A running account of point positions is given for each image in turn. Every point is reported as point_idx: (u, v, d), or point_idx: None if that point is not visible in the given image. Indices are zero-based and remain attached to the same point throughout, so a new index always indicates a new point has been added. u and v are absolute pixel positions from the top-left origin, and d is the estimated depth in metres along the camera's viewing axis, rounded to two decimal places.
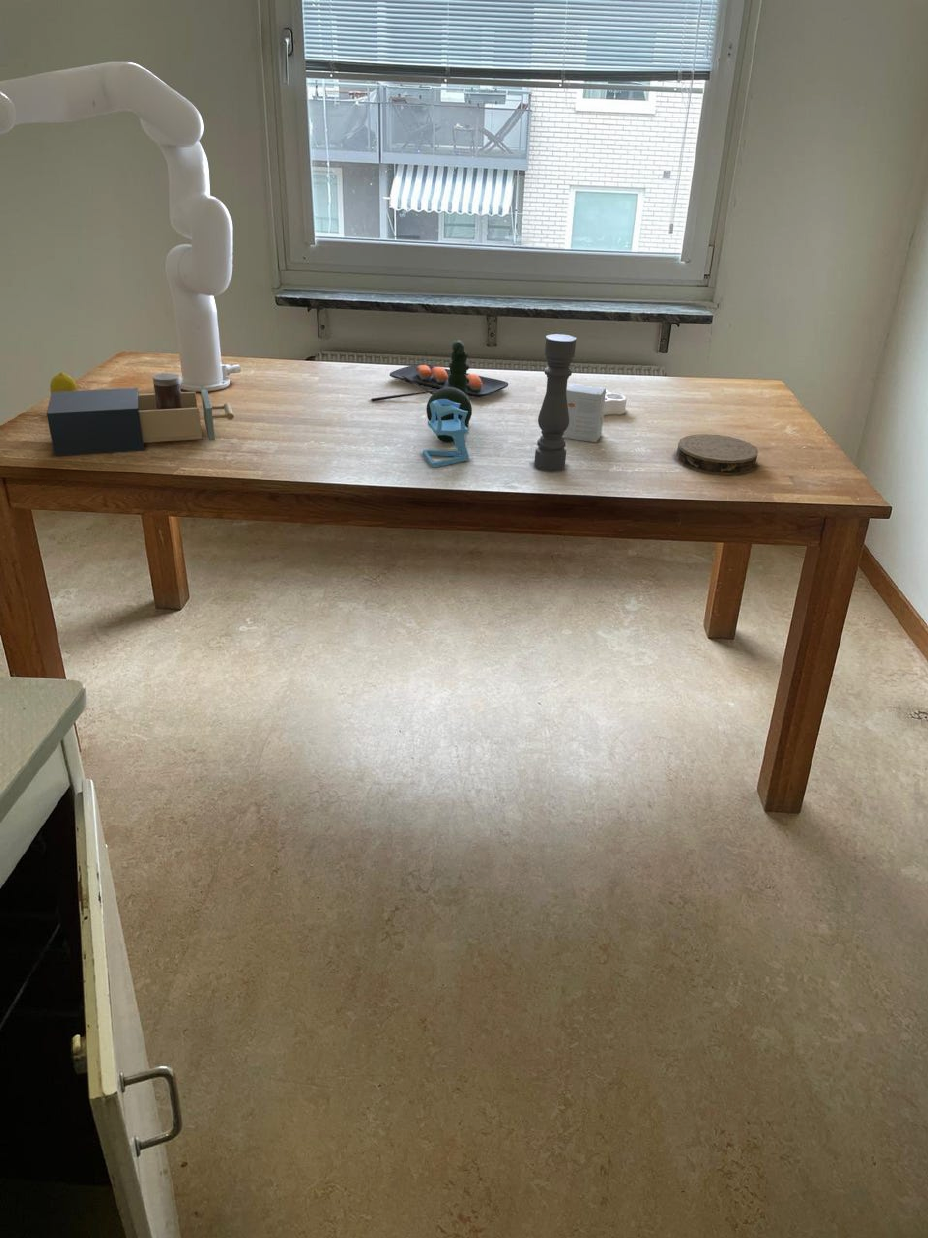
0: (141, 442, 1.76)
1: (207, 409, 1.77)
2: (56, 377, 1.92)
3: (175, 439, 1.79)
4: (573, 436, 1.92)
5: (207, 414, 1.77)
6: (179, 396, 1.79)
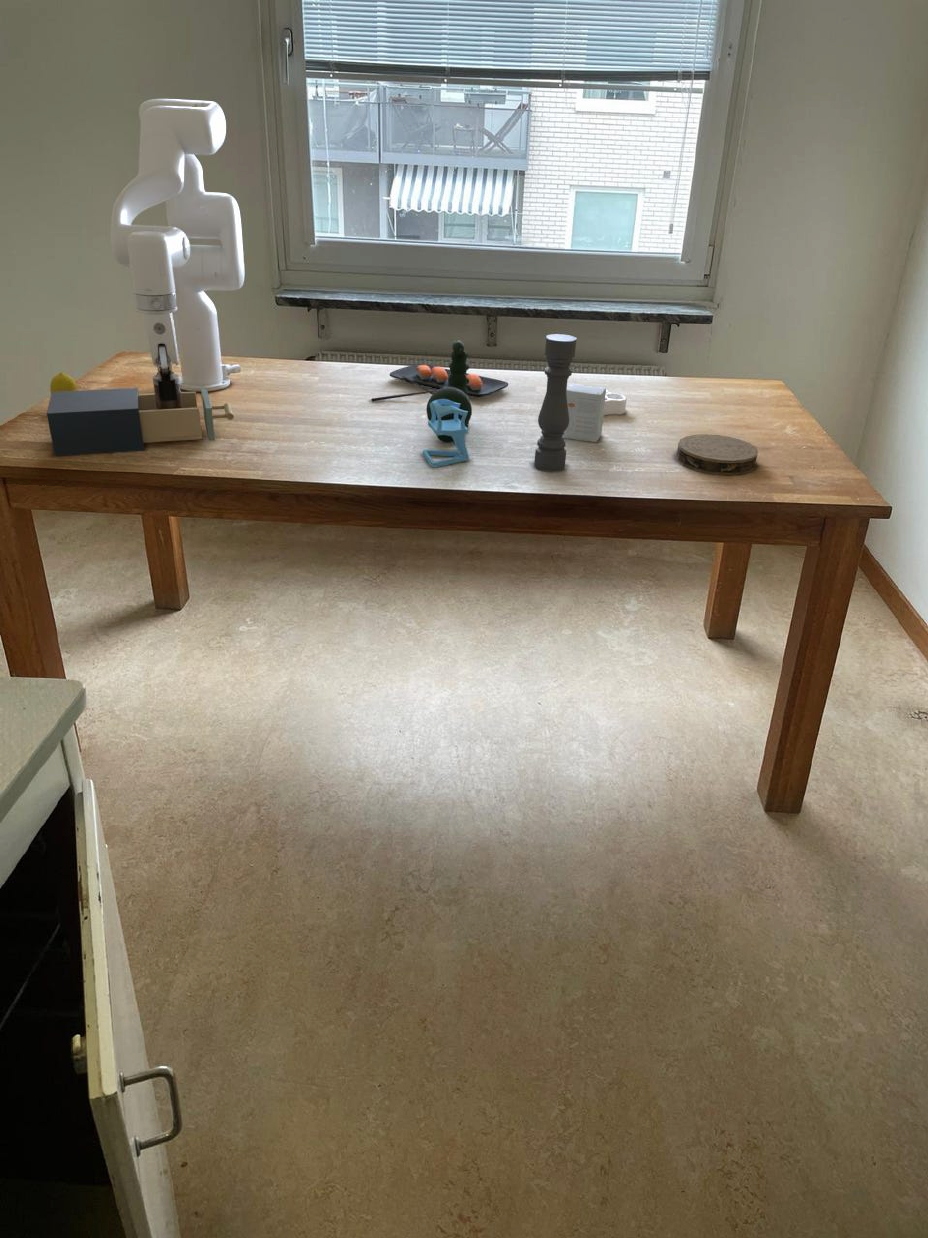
0: (141, 442, 1.76)
1: (207, 409, 1.77)
2: (56, 377, 1.92)
3: (175, 439, 1.79)
4: (573, 436, 1.92)
5: (207, 414, 1.77)
6: (179, 396, 1.79)
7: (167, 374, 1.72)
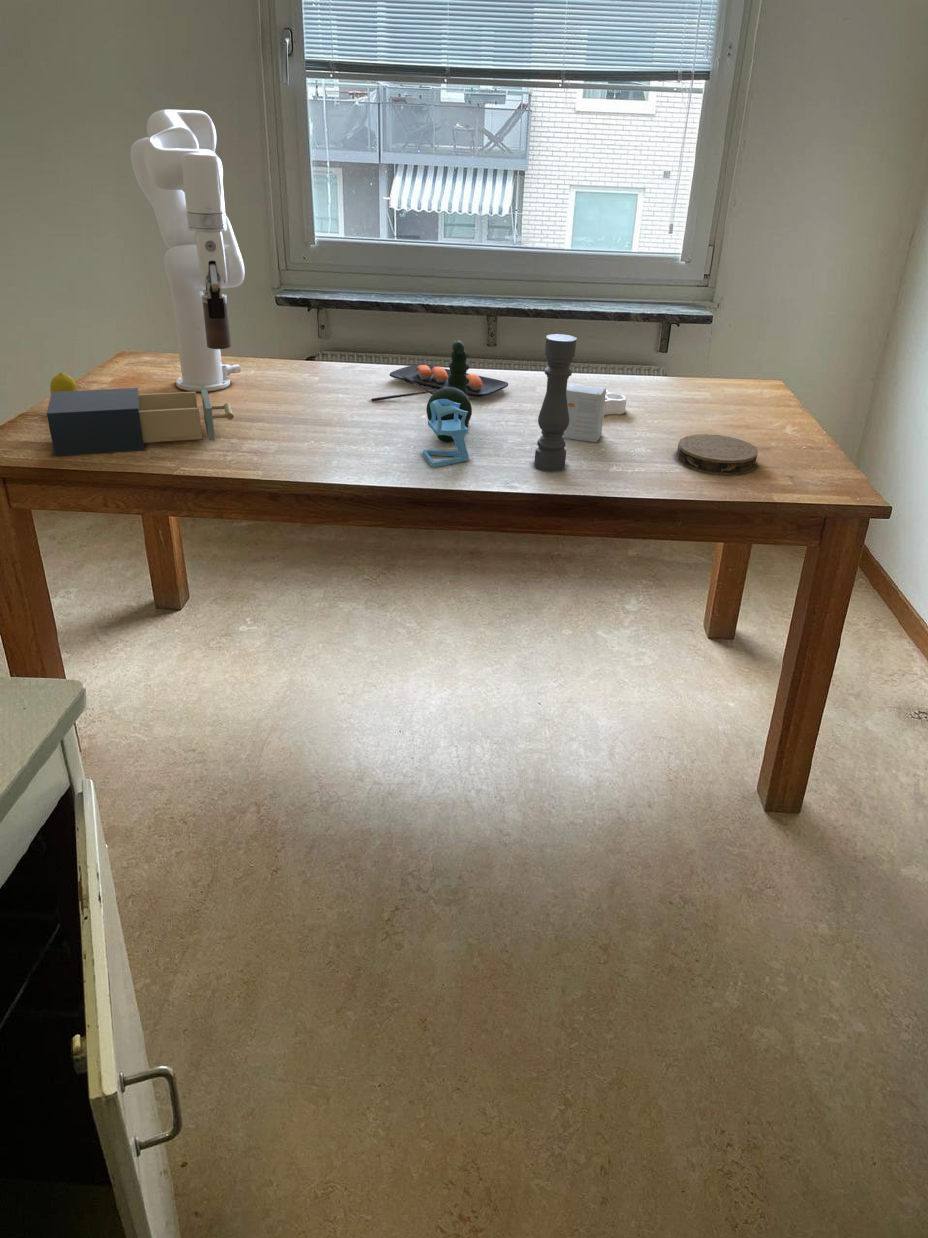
0: (141, 442, 1.76)
1: (207, 409, 1.77)
2: (56, 377, 1.92)
3: (175, 439, 1.79)
4: (573, 436, 1.92)
5: (207, 414, 1.77)
6: (226, 315, 1.88)
7: (217, 291, 1.81)
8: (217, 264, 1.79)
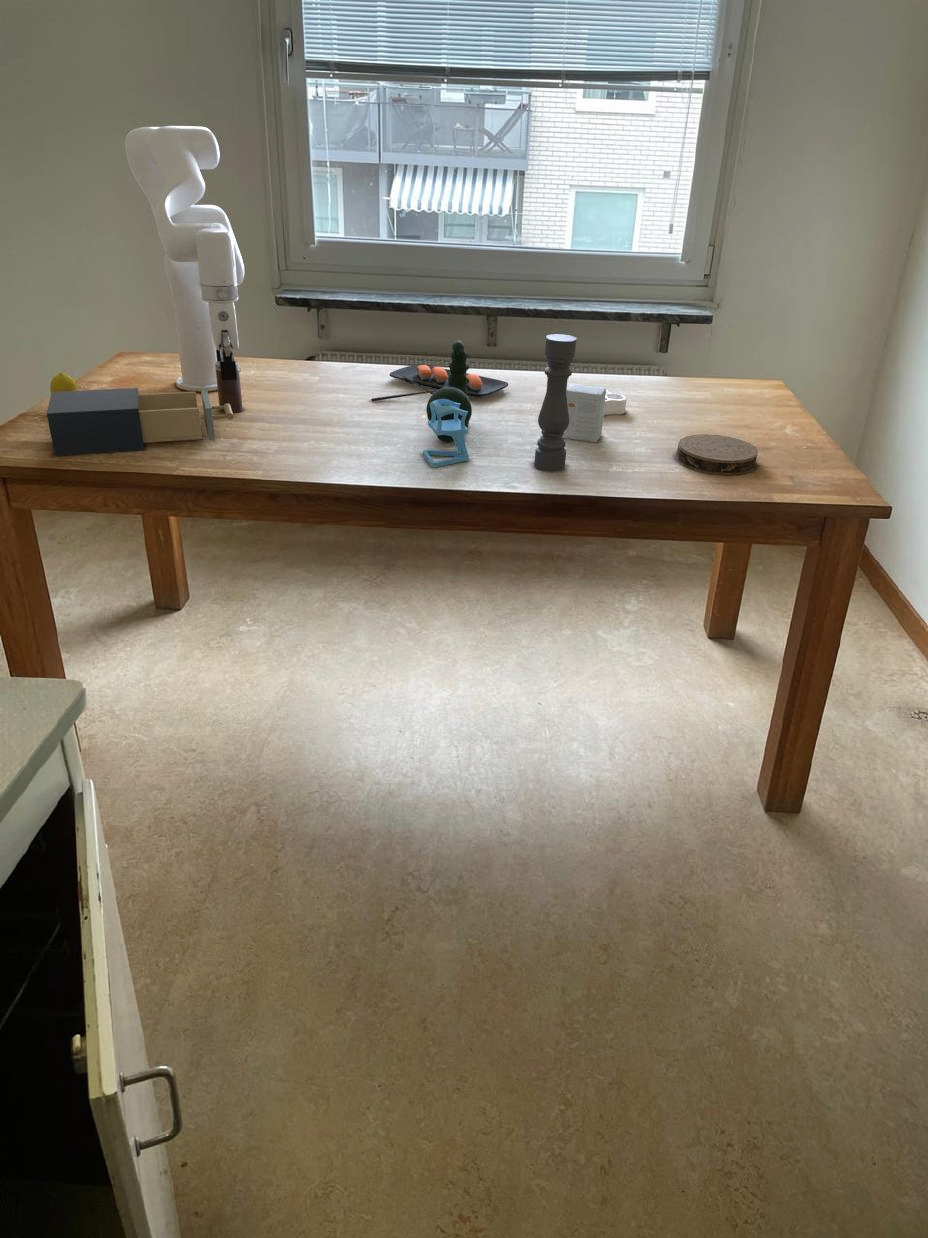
0: (141, 442, 1.76)
1: (207, 409, 1.77)
2: (56, 377, 1.92)
3: (175, 439, 1.79)
4: (573, 436, 1.92)
5: (207, 414, 1.77)
6: (238, 381, 1.97)
7: (229, 355, 1.88)
8: (229, 333, 1.88)
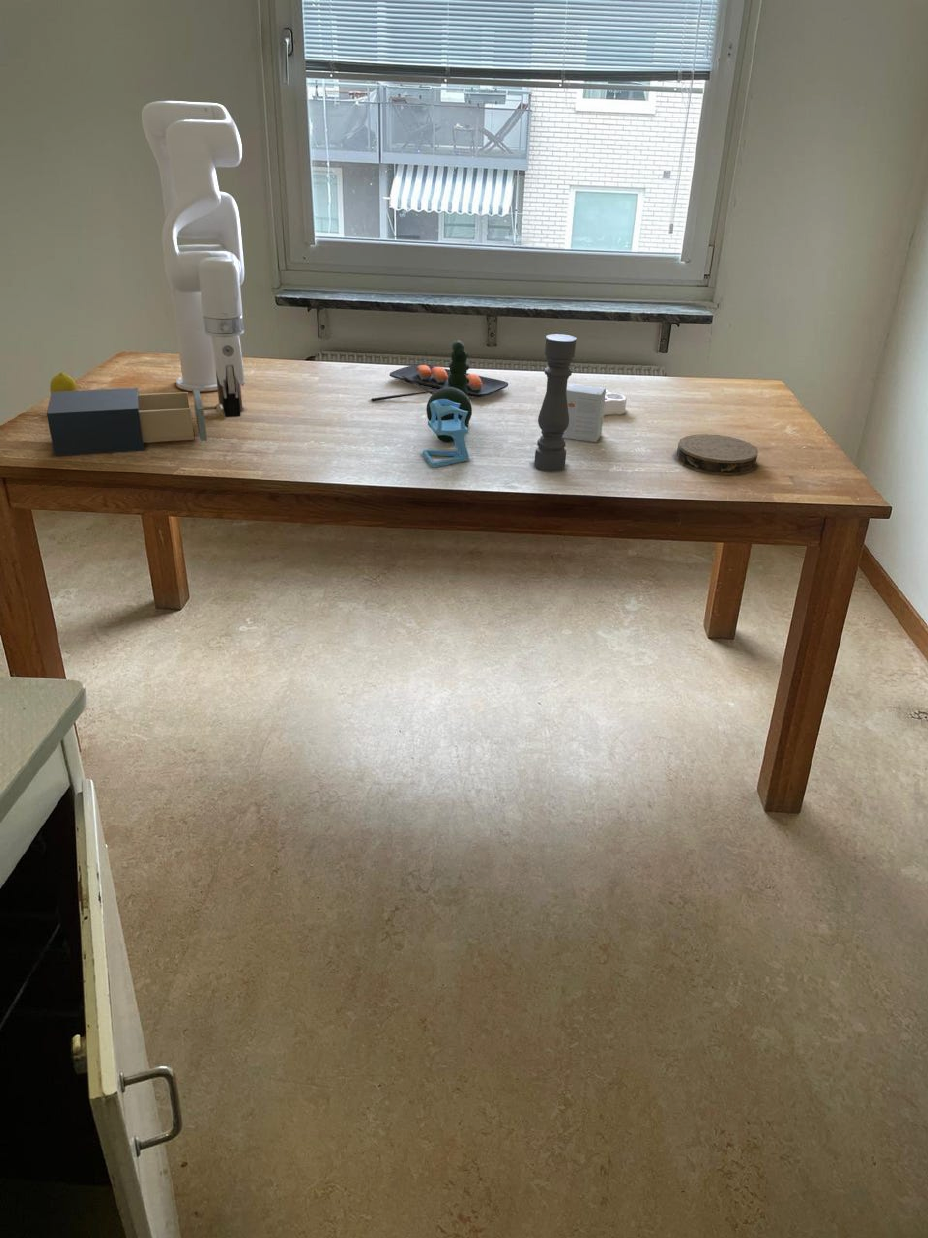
0: (141, 442, 1.76)
1: (199, 409, 1.77)
2: (56, 377, 1.92)
3: (167, 440, 1.78)
4: (573, 436, 1.92)
5: (199, 414, 1.77)
6: None
7: None
8: (234, 368, 1.76)
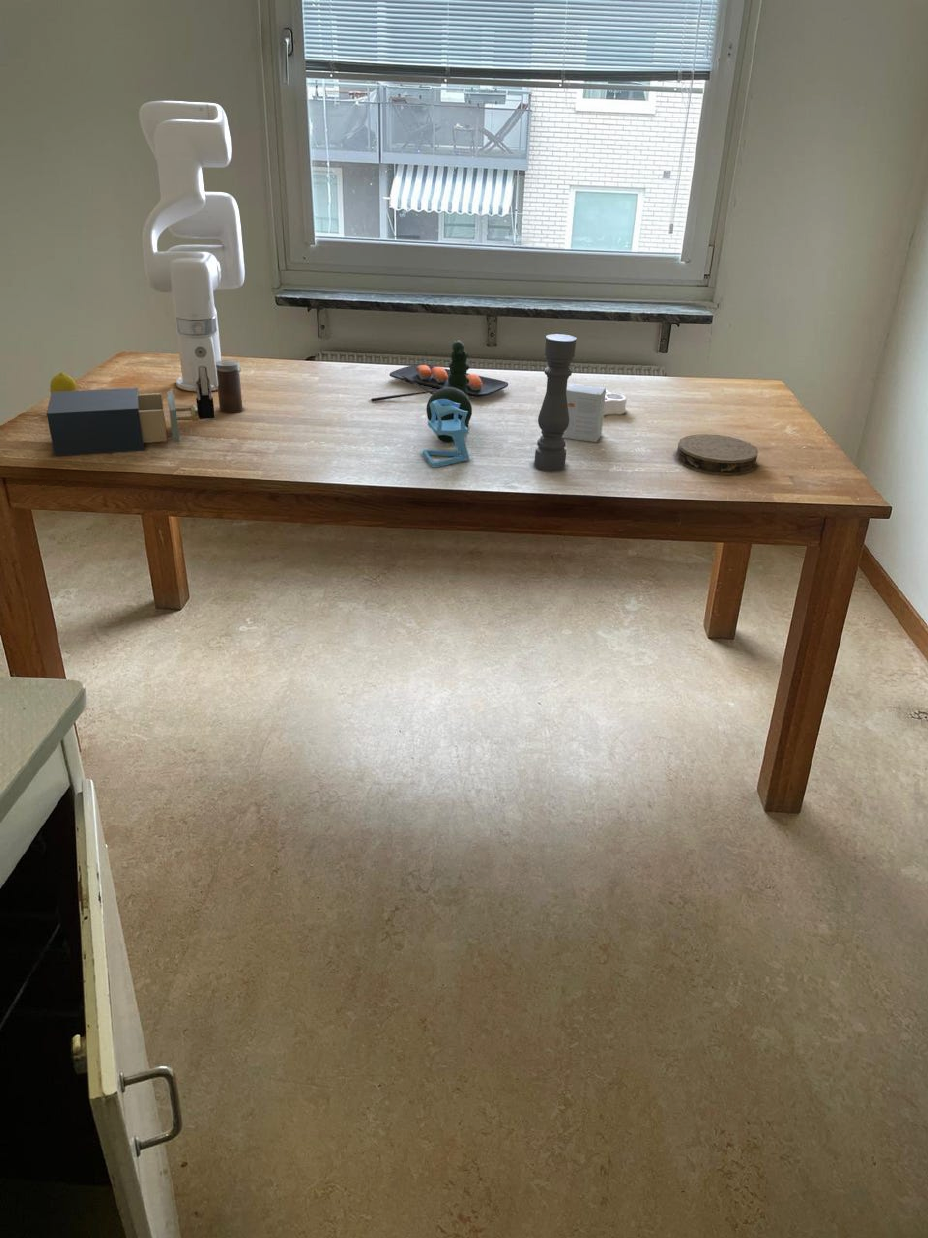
0: (141, 442, 1.76)
1: (171, 411, 1.75)
2: (56, 377, 1.92)
3: None
4: (573, 436, 1.92)
5: (171, 416, 1.76)
6: (238, 381, 1.97)
7: None
8: (207, 369, 1.75)
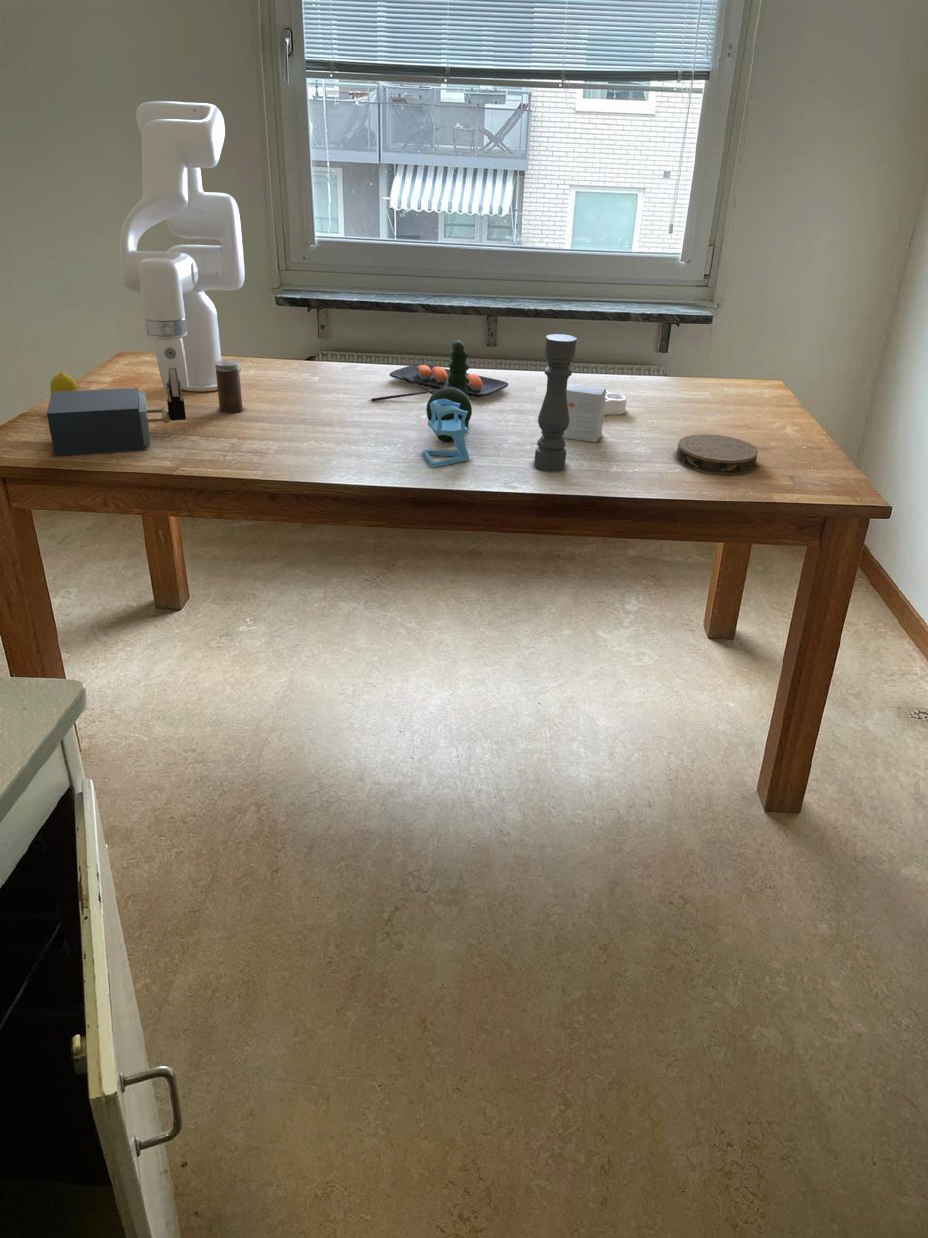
0: (141, 442, 1.76)
1: (141, 413, 1.73)
2: (56, 377, 1.92)
3: None
4: (573, 436, 1.92)
5: (141, 418, 1.74)
6: (238, 381, 1.97)
7: None
8: (177, 371, 1.73)
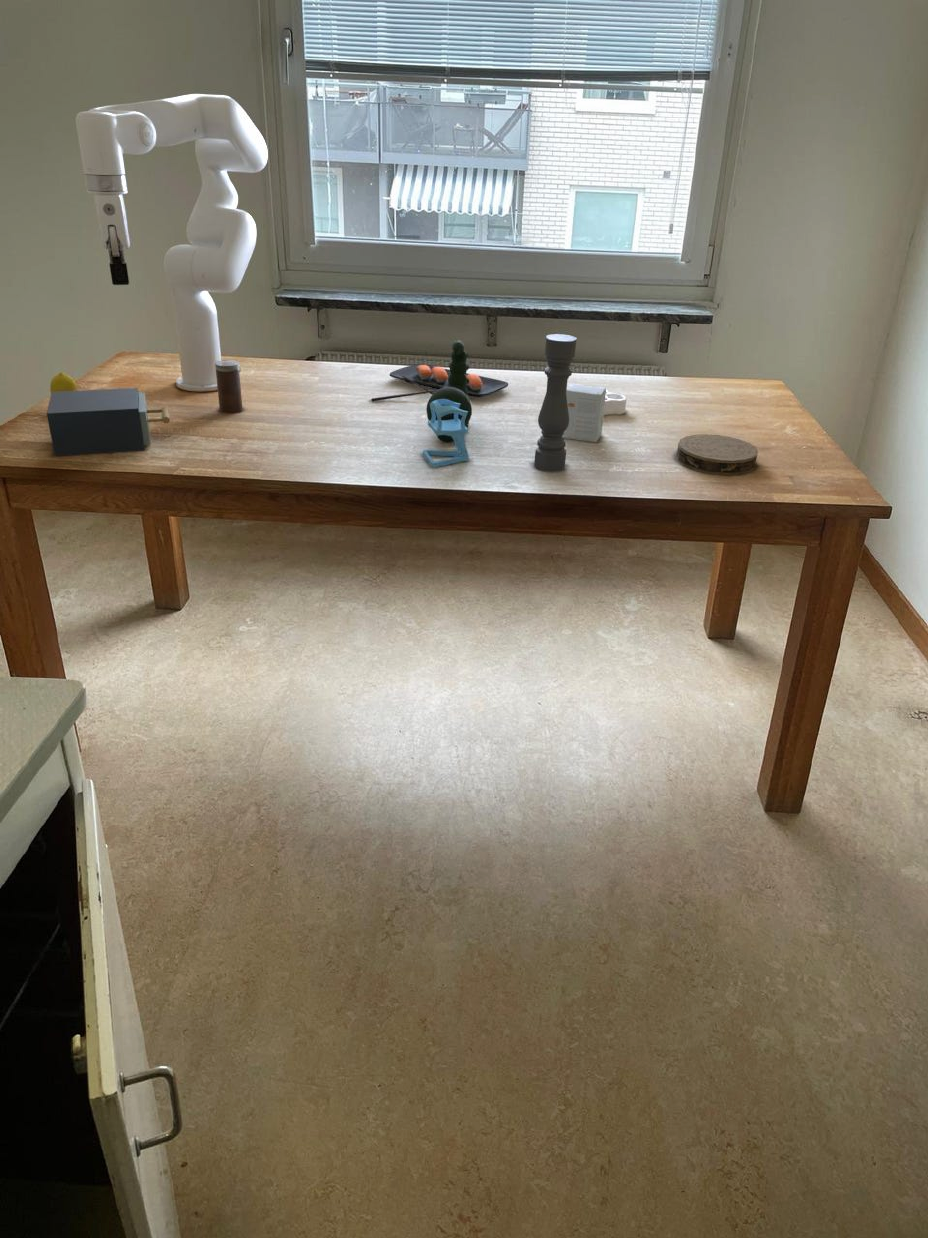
0: (141, 442, 1.76)
1: (141, 413, 1.73)
2: (56, 377, 1.92)
3: None
4: (573, 436, 1.92)
5: (141, 418, 1.74)
6: (238, 381, 1.97)
7: None
8: (117, 228, 1.73)
